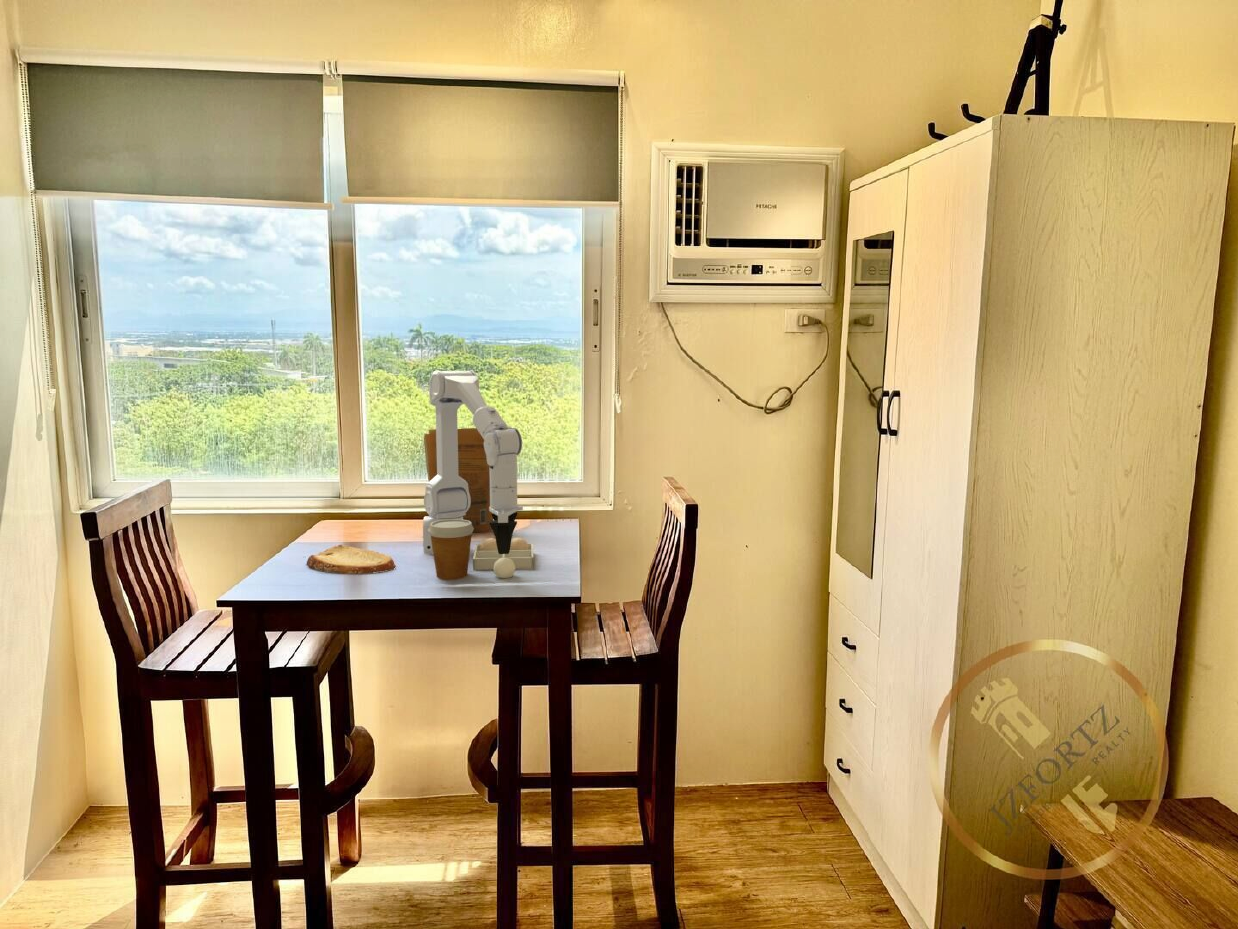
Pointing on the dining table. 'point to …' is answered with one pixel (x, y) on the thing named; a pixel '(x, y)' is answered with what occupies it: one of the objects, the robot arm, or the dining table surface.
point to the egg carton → (489, 558)
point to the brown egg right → (518, 544)
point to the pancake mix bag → (467, 473)
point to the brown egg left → (489, 545)
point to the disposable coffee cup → (451, 547)
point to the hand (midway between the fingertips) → (504, 549)
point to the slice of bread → (350, 560)
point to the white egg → (504, 568)
